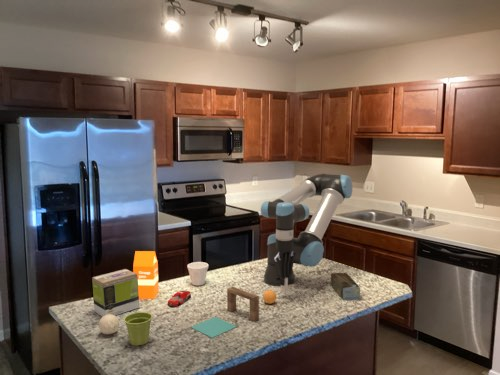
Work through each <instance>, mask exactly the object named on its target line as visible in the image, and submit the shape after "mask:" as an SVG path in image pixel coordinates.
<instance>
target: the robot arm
mask: <svg viewBox="0 0 500 375" xmlns="http://www.w3.org/2000/svg"><path fill="white" fill-rule="evenodd" d="M352 194H353V181H352V178H351V177H350V176H349V175H347V174H331V173H318V174H314V175H312V176H310V177H307V178H306V179H303V180H302V181H301V182H300V183H299V185H297V186H296V187H294V188H292V189H291V190H290V191H288V192H286V193H284V194H282V195H281V196H279V197H278V198H276V199H274V200H273V201H270V200H269V201H267V200H266V201H263V202H262V203H261V205H260V214H261V216H262V217H264V218H268V219H276V220H275V222H276V226H275V233H272V234H270V235H269V236H268V237H267V243H266V245H267V265H266V268H265V271H264V275H263V282H264V283H265V284H267V285H270V286H275V287H278V286H279V287H280V292H281V293H282V294H283V293H284V294H287V293H288V286H290V285H293V284H294V283H295V282H296V274H295V272H294V269H293V268H294V264H296V265H300V266H304V267H310V268H311V267H316V266H317V265H319V263H320V262H321V261H322V259H323V256H324V251H325V248H324V245H323V244H324V242H323V240H322V239H323V237H324V235H325V233H326V231H327V229H328V227H329V224H330V222H331V220H332V218H333V216H334V214H335V212H336V210H337V208H338V206H339V205H341V204H343V203H344V200H345V199H350V198H351V197H352ZM315 196H321V199H320V201H319V203H318V205H317V207H316V209H315V211H314V213H313V214H312V216H311V218H310V220H309V222H308V224H307V226H306V228H305V230H304V231H301V232H300V233H299V234H298V236H297V237H294V229H295V228H294V226H295V224H296V223H299V222H303V221H304V220H307V219H308V218H309V217H310V214H311V213H310V208H309V207H308V206H307V205H306V204H305V203H301V202H304V201H305V200H307V199H308V198H312V197H315Z"/></svg>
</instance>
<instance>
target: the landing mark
mask: <svg viewBox="0 0 500 375" xmlns="http://www.w3.org/2000/svg"><path fill="white" fill-rule="evenodd" d="M237 327H238V326H237V325H234V324H233V323H230V322H228V321H225V320H224V319H221V318H220V317H217V316H213V317H212V318H209V319H206V320H204V321H202V322H199V323H196V324H194V325H192V326H190V328H191V329H193V330H195V331H197V332H199V333H202V334H203V335H205V336H207V337H209V338H210V339H213V338H215V337H217V336H220V335H222V334H225V333H227V332H229V331H231V330H233V329H235V328H237Z"/></svg>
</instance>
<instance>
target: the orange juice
mask: <svg viewBox="0 0 500 375" xmlns="http://www.w3.org/2000/svg"><path fill="white" fill-rule="evenodd" d="M133 258H134V259H133V265H132V266H133V269H132V272H134V273H136V274H137V275H138V290H139V300H140V299H142V300H143V299H144V300H145V299H146V300H151V299H152V300H153V299H155V298H156V297H157V296H158V294H159V293H160V292H159V264H158V262H159V260H158V259H157V255H156V251H155V250H154V251H153V250H151V251H150V250H149V251H148V250H143V251H142V250H141V251H140V250H135V253H134V257H133Z"/></svg>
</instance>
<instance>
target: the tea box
mask: <svg viewBox="0 0 500 375" xmlns="http://www.w3.org/2000/svg"><path fill="white" fill-rule="evenodd" d="M91 281H92V294H93V296H92V297H93V308H94V310H93V311H94V312H95V314H98V315H99V316H101V318H102V317H103V316H105V315H108V314H112V315H115V316H118V315H120V314H124V313H126V312H129V311H133V310H135V309H140V299H139V290H138V275H137V274H136V273H134V272H133V270H132V271H131V270H129V269H127V268H123V269H120V270H115V271H112V272H109V273H104V274H100V275H96V276H93V277H91Z"/></svg>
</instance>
